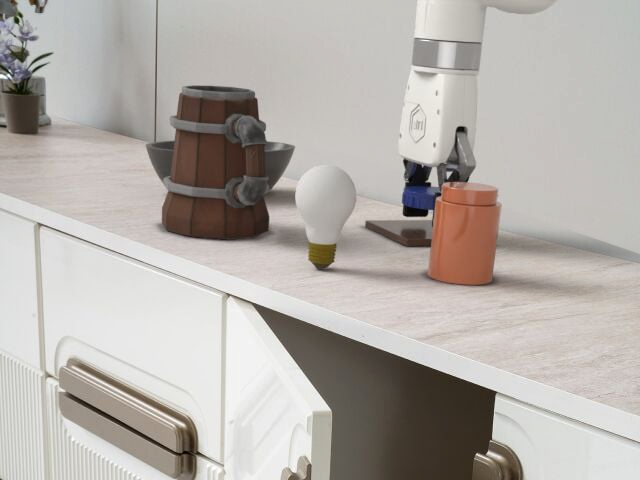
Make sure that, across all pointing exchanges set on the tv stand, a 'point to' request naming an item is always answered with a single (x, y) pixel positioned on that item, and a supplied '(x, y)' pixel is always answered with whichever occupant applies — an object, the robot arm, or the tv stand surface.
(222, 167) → the mug
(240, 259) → the tv stand surface
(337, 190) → the light bulb
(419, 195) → the lid
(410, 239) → the plate
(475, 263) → the jar
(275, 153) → the bowl
